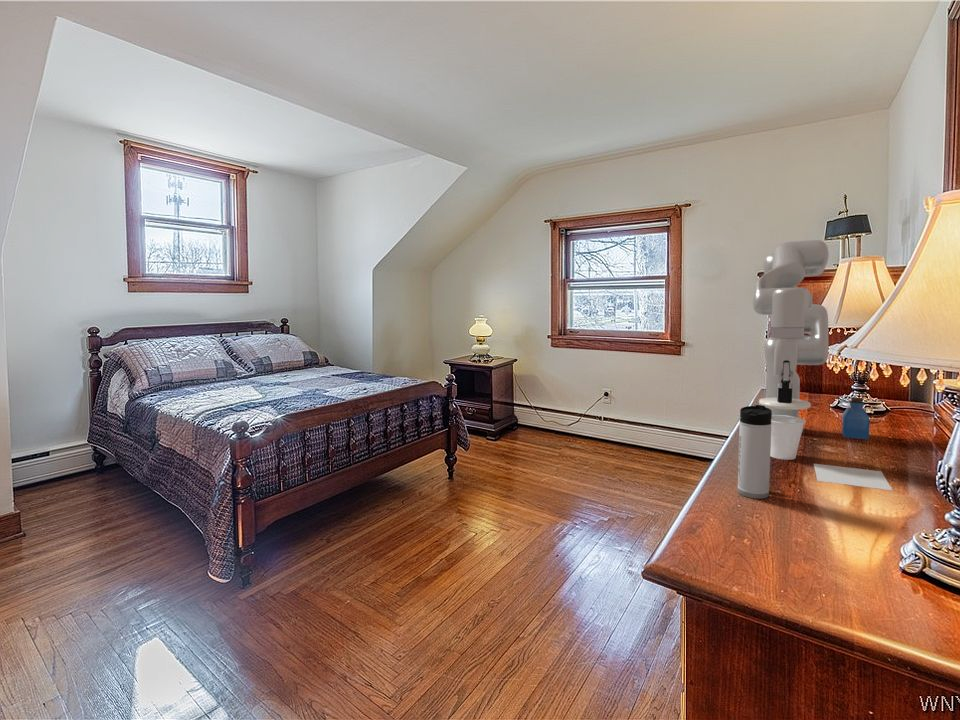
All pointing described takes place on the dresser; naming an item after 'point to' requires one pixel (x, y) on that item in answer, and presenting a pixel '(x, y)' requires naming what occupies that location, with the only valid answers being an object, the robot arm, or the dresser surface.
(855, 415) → the perfume bottle
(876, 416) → the dresser surface
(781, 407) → the lid
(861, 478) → the mat
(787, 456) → the cup
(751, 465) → the travel mug
